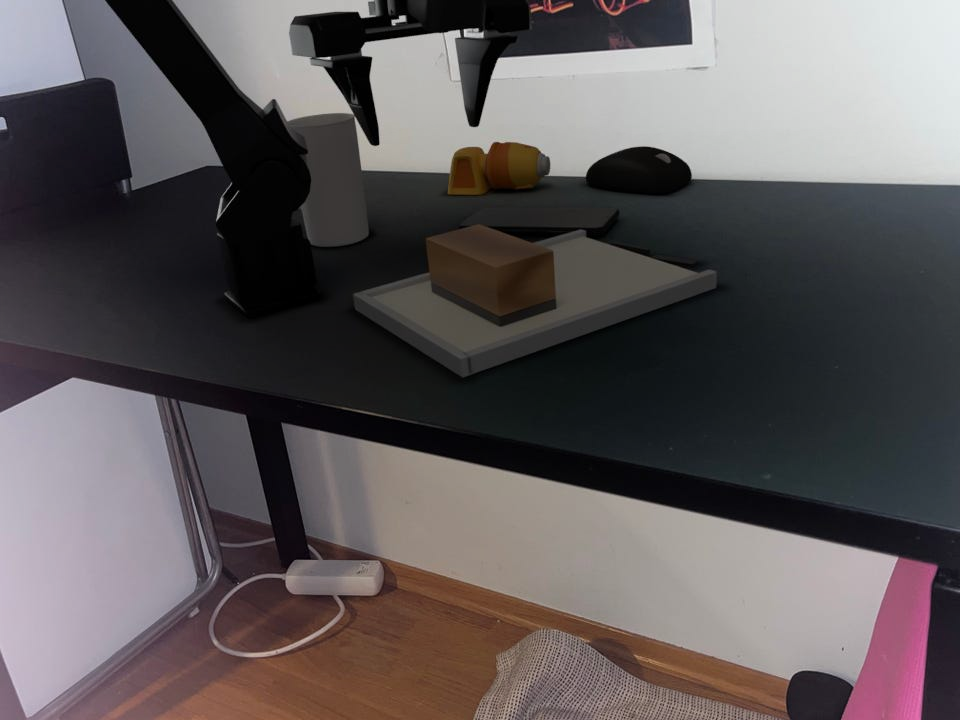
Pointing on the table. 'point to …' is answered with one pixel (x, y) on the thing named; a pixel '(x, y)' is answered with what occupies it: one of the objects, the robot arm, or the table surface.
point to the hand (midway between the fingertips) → (425, 135)
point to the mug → (333, 180)
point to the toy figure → (496, 168)
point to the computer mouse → (640, 171)
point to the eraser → (492, 273)
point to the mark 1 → (633, 248)
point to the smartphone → (544, 220)
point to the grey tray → (579, 310)
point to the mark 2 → (676, 260)
